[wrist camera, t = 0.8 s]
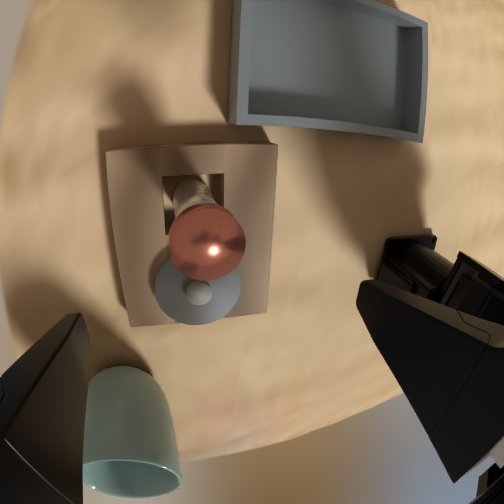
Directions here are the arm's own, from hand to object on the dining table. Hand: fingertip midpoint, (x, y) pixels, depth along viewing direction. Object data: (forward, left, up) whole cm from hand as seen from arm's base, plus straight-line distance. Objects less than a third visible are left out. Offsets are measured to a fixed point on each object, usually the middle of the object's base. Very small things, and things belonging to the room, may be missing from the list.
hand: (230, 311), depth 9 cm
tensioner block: (0, +2, -12) cm, 12 cm away
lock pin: (0, 0, -12) cm, 12 cm away
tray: (-9, -10, -12) cm, 18 cm away
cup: (+7, +16, -12) cm, 21 cm away
